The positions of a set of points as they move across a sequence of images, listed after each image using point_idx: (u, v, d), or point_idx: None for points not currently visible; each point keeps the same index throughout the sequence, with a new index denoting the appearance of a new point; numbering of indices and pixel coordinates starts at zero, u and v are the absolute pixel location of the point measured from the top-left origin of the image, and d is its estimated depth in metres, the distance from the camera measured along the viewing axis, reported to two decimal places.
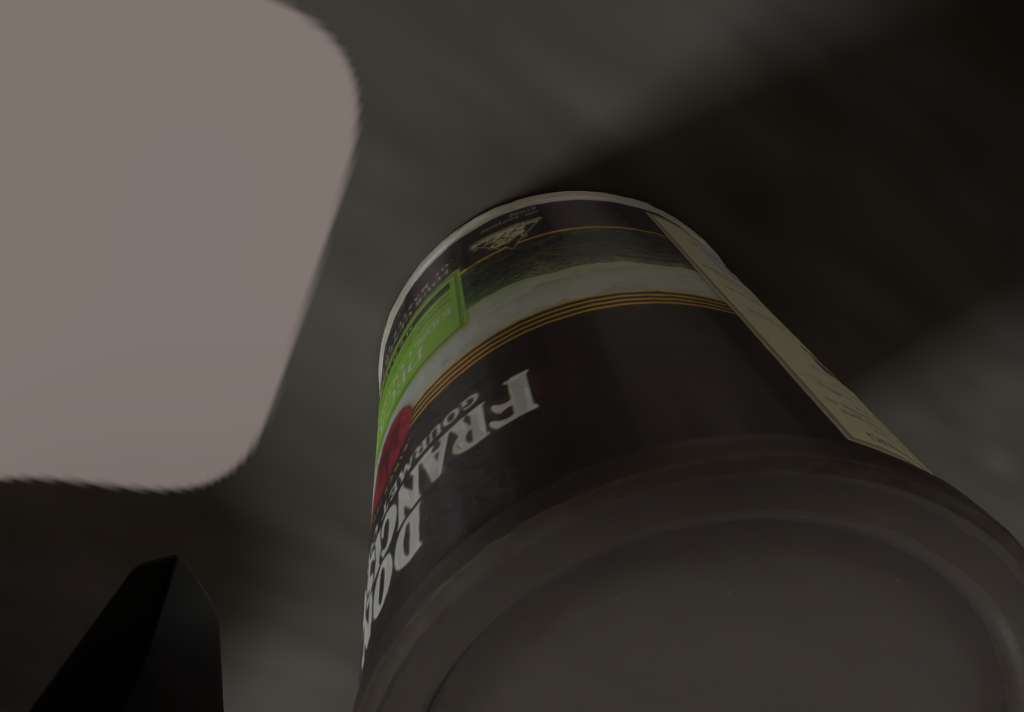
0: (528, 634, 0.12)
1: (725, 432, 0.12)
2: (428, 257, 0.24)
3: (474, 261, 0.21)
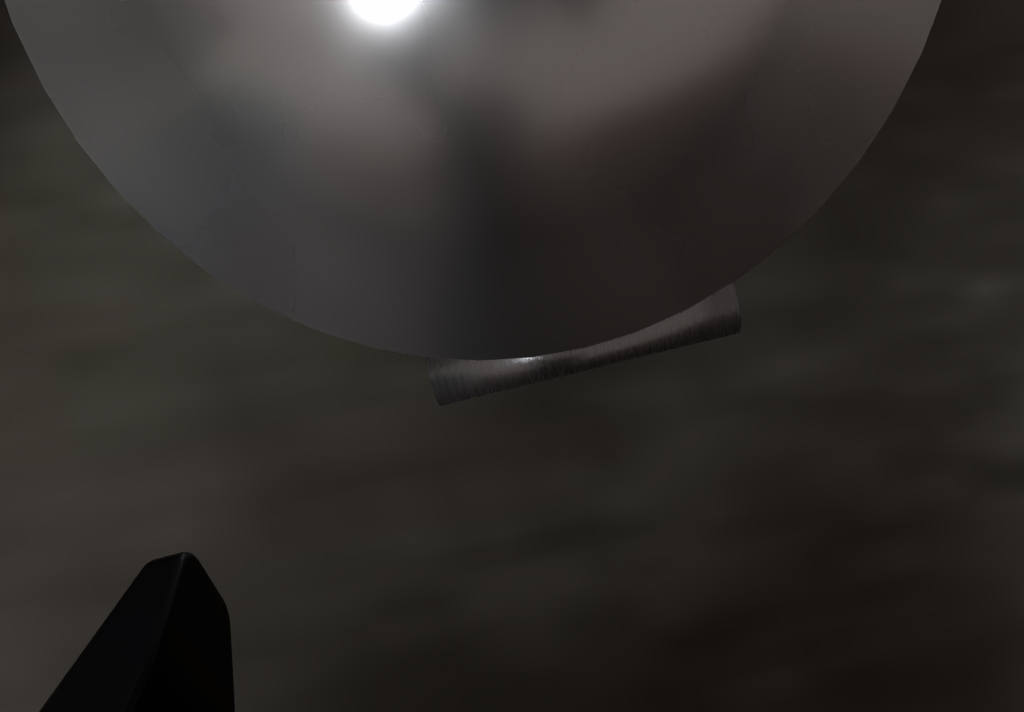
0: None
1: None
2: None
3: None
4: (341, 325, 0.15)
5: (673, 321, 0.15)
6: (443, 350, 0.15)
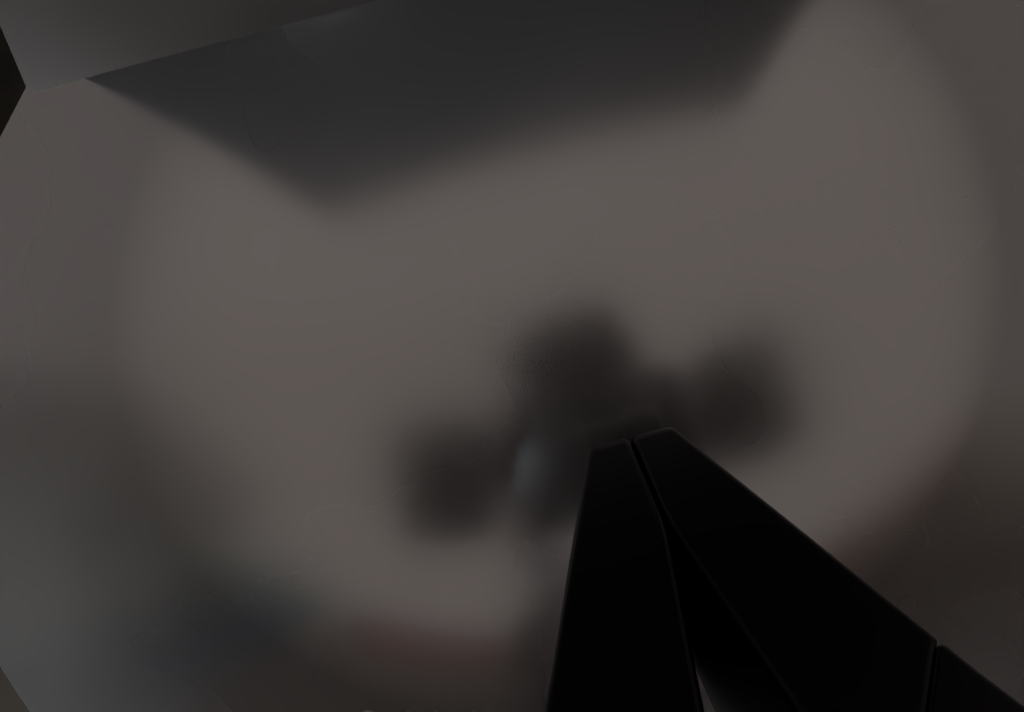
0: None
1: None
2: None
3: None
4: None
5: None
6: None
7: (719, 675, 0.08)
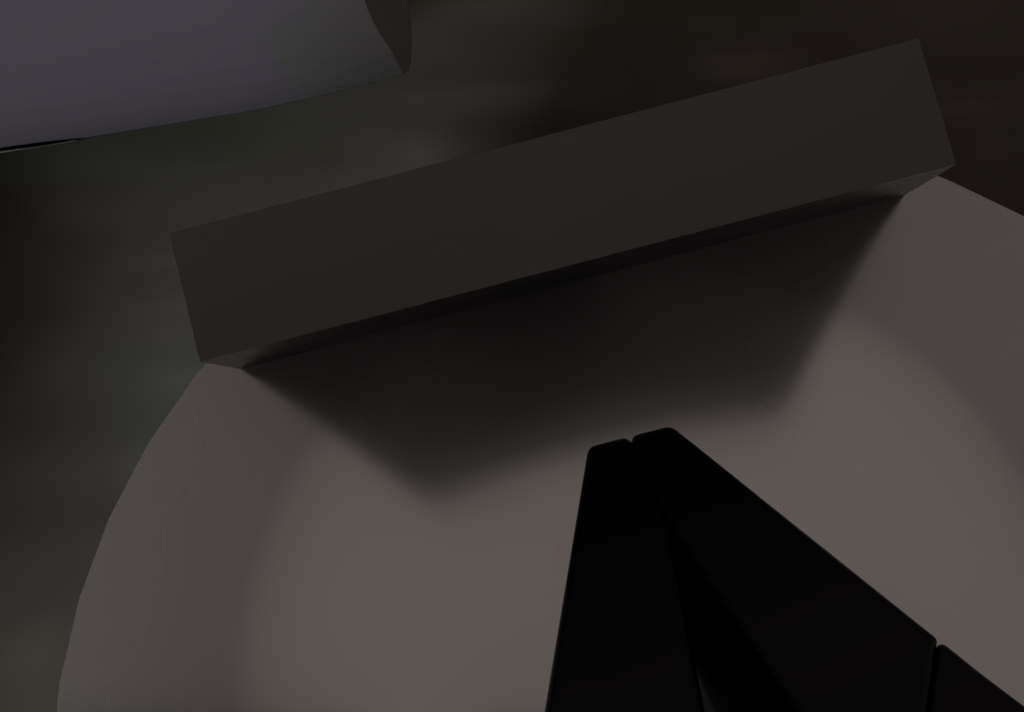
0: None
1: None
2: None
3: None
4: None
5: None
6: None
7: (719, 675, 0.08)
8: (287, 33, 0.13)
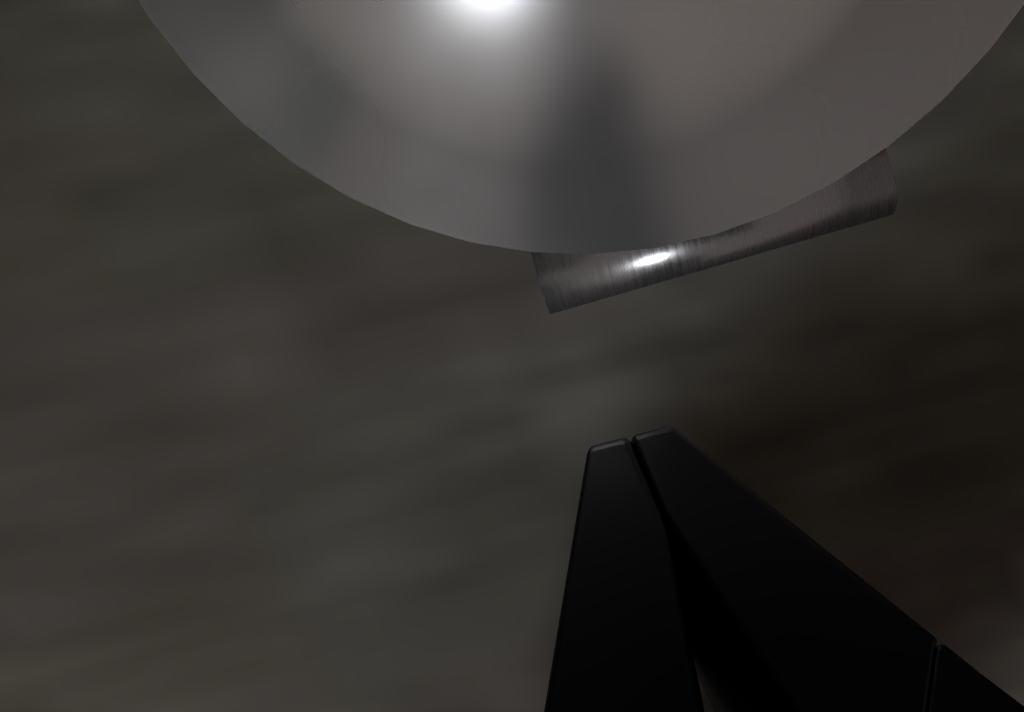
0: None
1: None
2: None
3: None
4: (437, 217, 0.13)
5: (818, 198, 0.13)
6: (552, 243, 0.13)
7: (719, 675, 0.08)
8: None
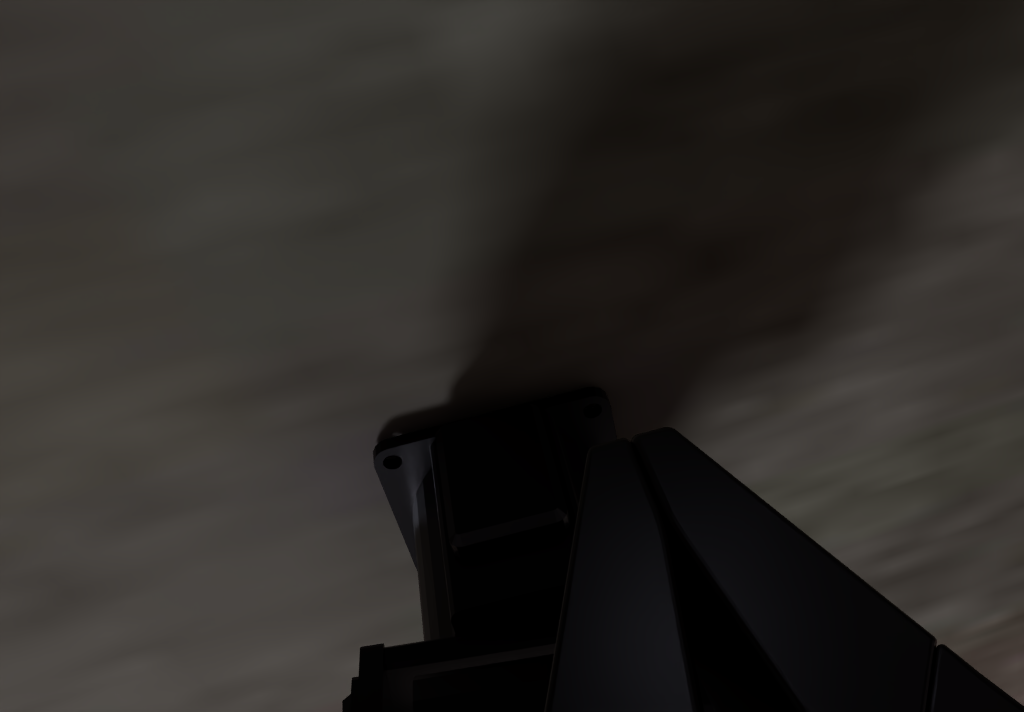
0: None
1: None
2: None
3: None
4: None
5: None
6: None
7: (719, 675, 0.08)
8: None
